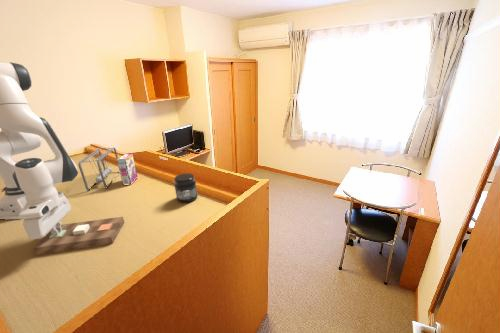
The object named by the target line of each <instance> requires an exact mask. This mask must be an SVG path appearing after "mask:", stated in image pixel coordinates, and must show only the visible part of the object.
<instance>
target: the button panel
mask: <svg viewBox="0 0 500 333" xmlns="http://www.w3.org/2000/svg"><path fill="white" fill-rule="evenodd" d="M111 223H112V224H113V225H112V227H111V228H110V230H107V231H100V232H98V229H99V228H100V226H101V225H104V224H111ZM85 224H89V226H90V228H89V230H88V231H87V232H86V234H79V235H74V234H73V230H74V229H75V228H76V227H77V226H78V225H85ZM124 224H125V219H124V216H119V217H117V216H115V217H109V218H103V219H95V220H87V221H81V222H71V223H65V224H61V229H62V230H67V231H66V232H65V233H64V234H63V236H62V237H58V238H51V239H49V237H50V236H51V235H52V232H50V231H49V232H48V233H47V234H46V235H45V236H44V237H43V238H41V240H39V241H38V242H37V243H36V244H35V245H34V246H33V247H32V250H33V252H34V254H35V256H38V255H44V254H45V255H46V254H50V253H57V252H64V251H69V250H71V251H72V250H78V249H85V248H92V247H97V246H102V245H111V244H114V243H115V240H116V238H117V237H118V236H119V233H120V232H121V229H122V228H123V226H124Z"/></svg>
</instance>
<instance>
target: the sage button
mask: <svg viewBox="0 0 500 333" xmlns="http://www.w3.org/2000/svg"><path fill="white" fill-rule="evenodd" d="M66 231H67V230H62V231H61V232H60V233H59V234H58V235H57V236H53V235H51V236H50V237H49V239H51V238H58V237H62V236H63V234H64V233H65V232H66Z"/></svg>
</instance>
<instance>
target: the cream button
mask: <svg viewBox="0 0 500 333" xmlns="http://www.w3.org/2000/svg"><path fill="white" fill-rule="evenodd" d="M89 228H90V226H89V224H85V225H78V226H77V227H76V228H75V229H74V230H73V234H74V235H79V234H86V232H87V231H88V230H89Z"/></svg>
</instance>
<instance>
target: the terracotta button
mask: <svg viewBox="0 0 500 333" xmlns="http://www.w3.org/2000/svg"><path fill="white" fill-rule="evenodd" d="M112 225H113V224H112V223H111V224H104V225H101V226H100V228H99V229H98V232H100V231H107V230H110V228H111V227H112Z"/></svg>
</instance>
